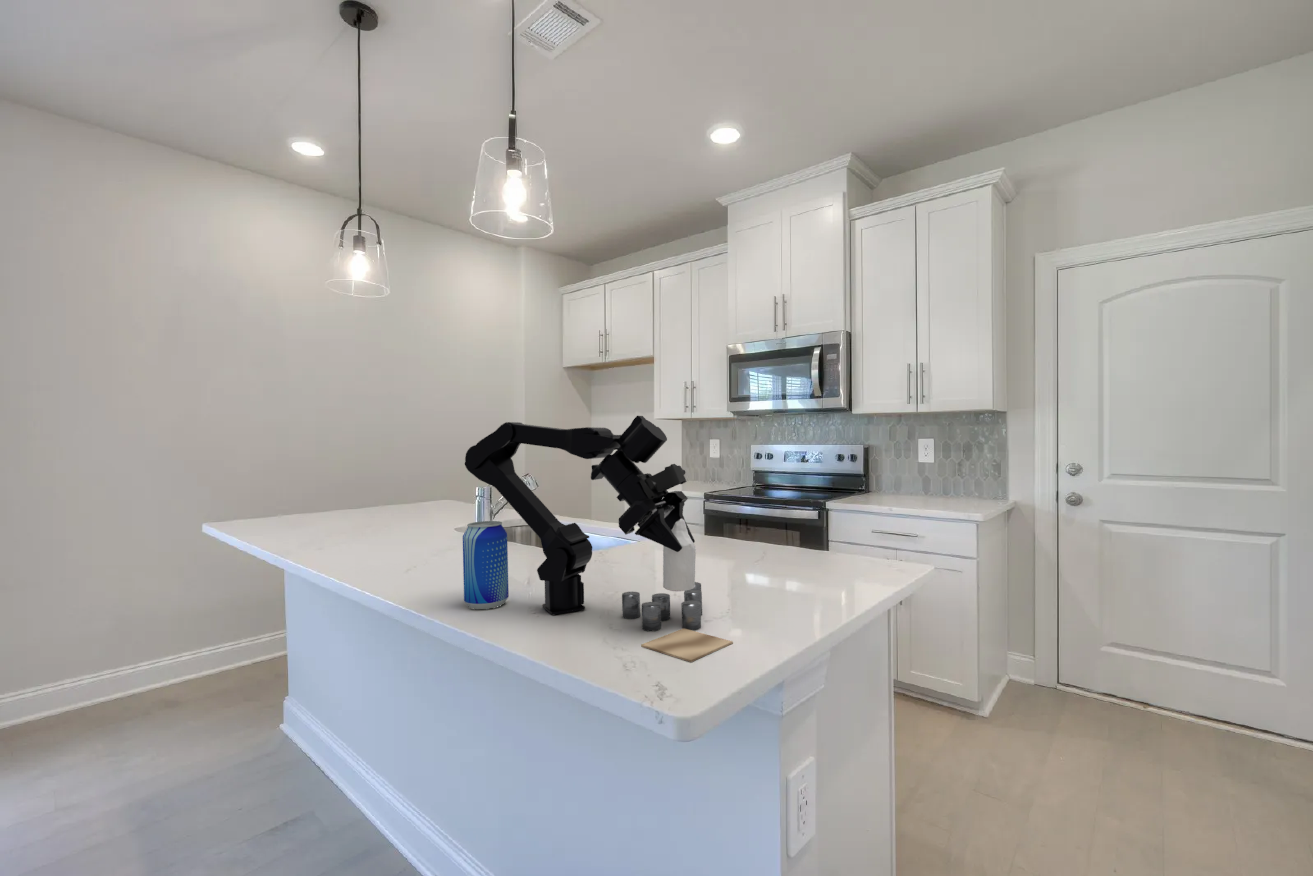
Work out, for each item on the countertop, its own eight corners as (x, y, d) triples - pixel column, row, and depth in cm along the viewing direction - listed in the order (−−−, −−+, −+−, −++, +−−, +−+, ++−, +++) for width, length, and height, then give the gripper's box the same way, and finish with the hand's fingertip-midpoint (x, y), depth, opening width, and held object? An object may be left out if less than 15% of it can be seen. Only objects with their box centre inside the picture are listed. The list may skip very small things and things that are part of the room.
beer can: (485, 613, 111) (482, 527, 111) (454, 607, 115) (453, 525, 115) (517, 602, 118) (515, 521, 118) (488, 597, 122) (486, 519, 122)
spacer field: (655, 637, 95) (655, 612, 95) (619, 615, 107) (619, 593, 107) (739, 621, 102) (738, 598, 102) (696, 602, 115) (695, 581, 115)
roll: (671, 515, 107) (700, 516, 104) (671, 581, 107) (700, 585, 104) (657, 519, 101) (687, 521, 99) (657, 589, 101) (687, 593, 99)
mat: (641, 646, 91) (641, 644, 91) (683, 630, 98) (683, 628, 98) (691, 662, 84) (691, 660, 84) (732, 643, 91) (732, 641, 91)
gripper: (635, 451, 96) (700, 523, 91) (677, 448, 113) (733, 508, 109) (592, 498, 99) (653, 570, 95) (639, 488, 116) (693, 548, 112)
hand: (686, 546), depth 102 cm, fingers closed on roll, 6 cm apart
